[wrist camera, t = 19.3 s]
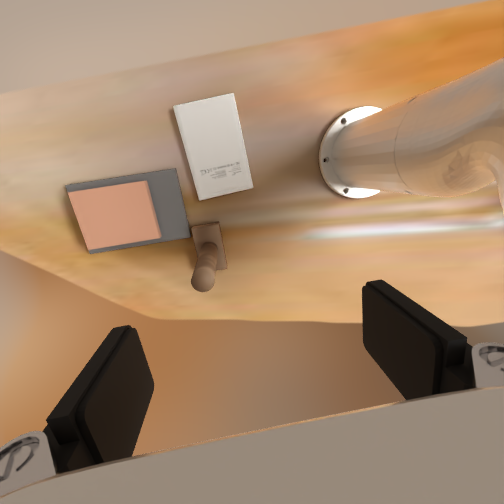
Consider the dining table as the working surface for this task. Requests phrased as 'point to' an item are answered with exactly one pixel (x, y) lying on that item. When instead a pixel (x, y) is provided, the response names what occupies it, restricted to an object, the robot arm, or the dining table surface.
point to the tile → (115, 214)
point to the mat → (164, 202)
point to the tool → (207, 255)
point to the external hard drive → (214, 145)
